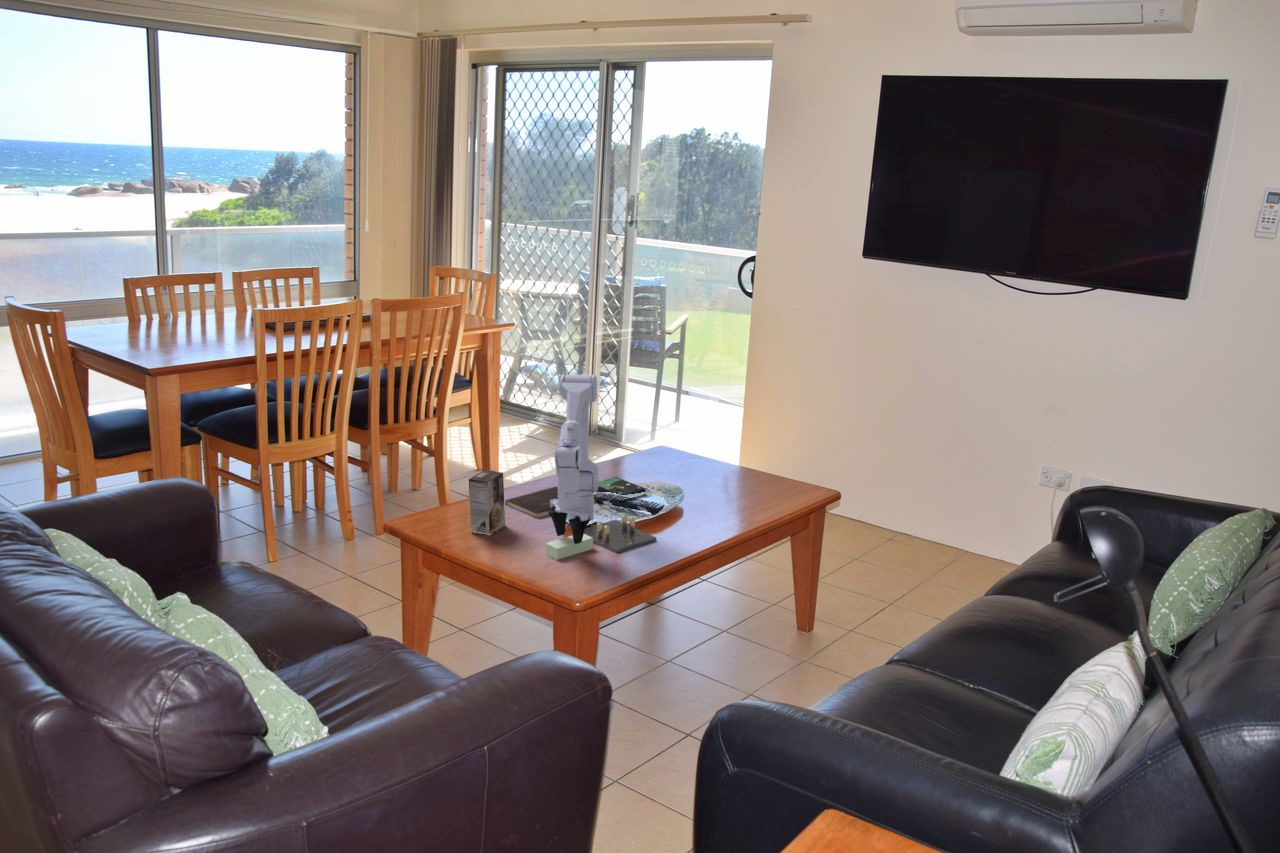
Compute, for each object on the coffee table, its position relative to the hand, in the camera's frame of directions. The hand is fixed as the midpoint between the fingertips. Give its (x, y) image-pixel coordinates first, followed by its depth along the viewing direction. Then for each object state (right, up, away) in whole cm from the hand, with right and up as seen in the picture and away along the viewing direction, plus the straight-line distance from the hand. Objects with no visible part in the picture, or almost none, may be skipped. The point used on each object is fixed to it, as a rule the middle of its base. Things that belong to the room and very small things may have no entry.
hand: (569, 538), depth 275 cm
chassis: (+12, -1, +11) cm, 16 cm away
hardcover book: (-8, +6, +39) cm, 40 cm away
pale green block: (0, -4, +1) cm, 4 cm away
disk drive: (+12, +9, +49) cm, 51 cm away
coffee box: (-24, +1, +17) cm, 29 cm away
